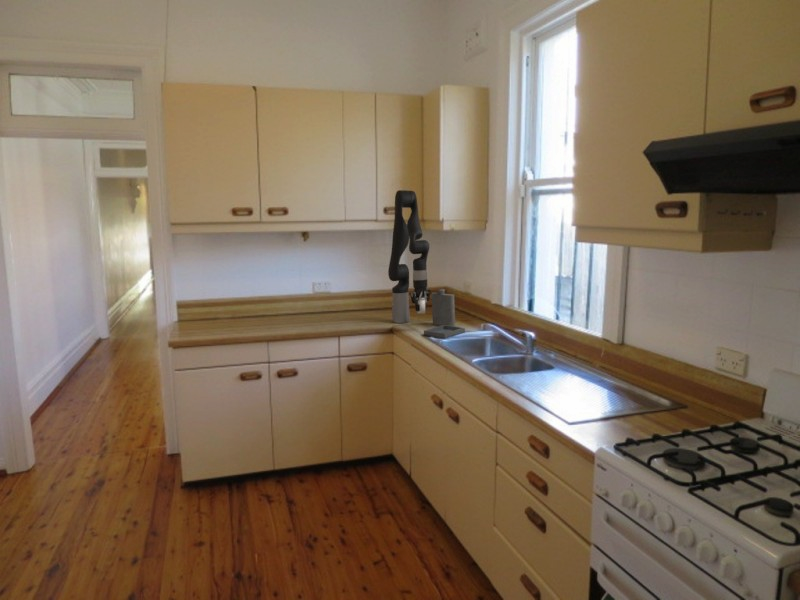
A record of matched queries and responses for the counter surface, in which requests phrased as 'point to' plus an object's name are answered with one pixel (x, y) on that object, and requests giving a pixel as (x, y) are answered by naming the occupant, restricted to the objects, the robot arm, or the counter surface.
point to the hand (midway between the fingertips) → (421, 310)
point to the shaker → (422, 306)
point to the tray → (444, 331)
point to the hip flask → (443, 308)
